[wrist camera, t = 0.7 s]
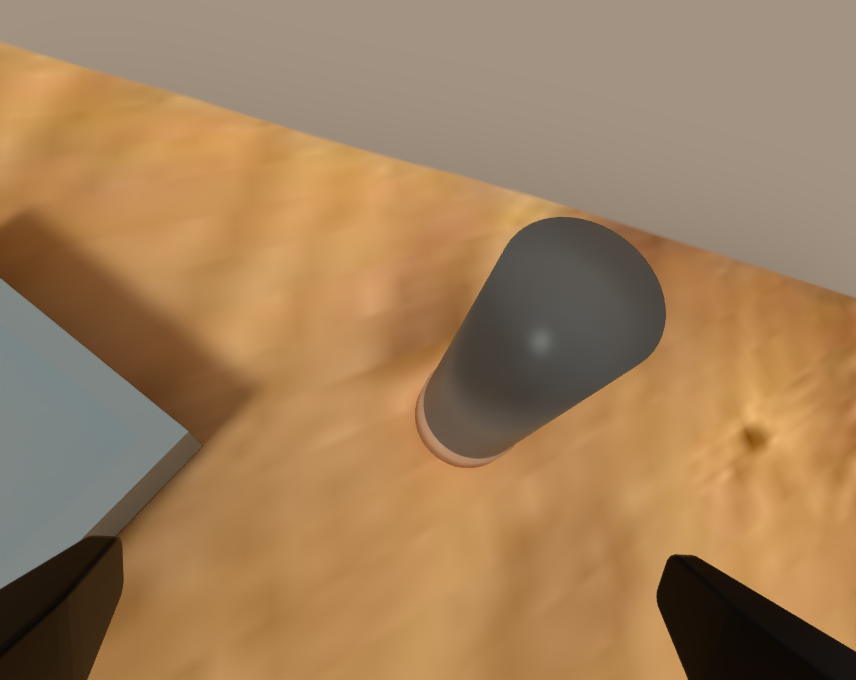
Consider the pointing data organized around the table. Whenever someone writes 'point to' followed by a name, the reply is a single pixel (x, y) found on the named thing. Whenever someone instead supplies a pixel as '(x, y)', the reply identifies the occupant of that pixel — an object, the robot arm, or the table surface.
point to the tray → (71, 441)
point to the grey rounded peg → (540, 339)
